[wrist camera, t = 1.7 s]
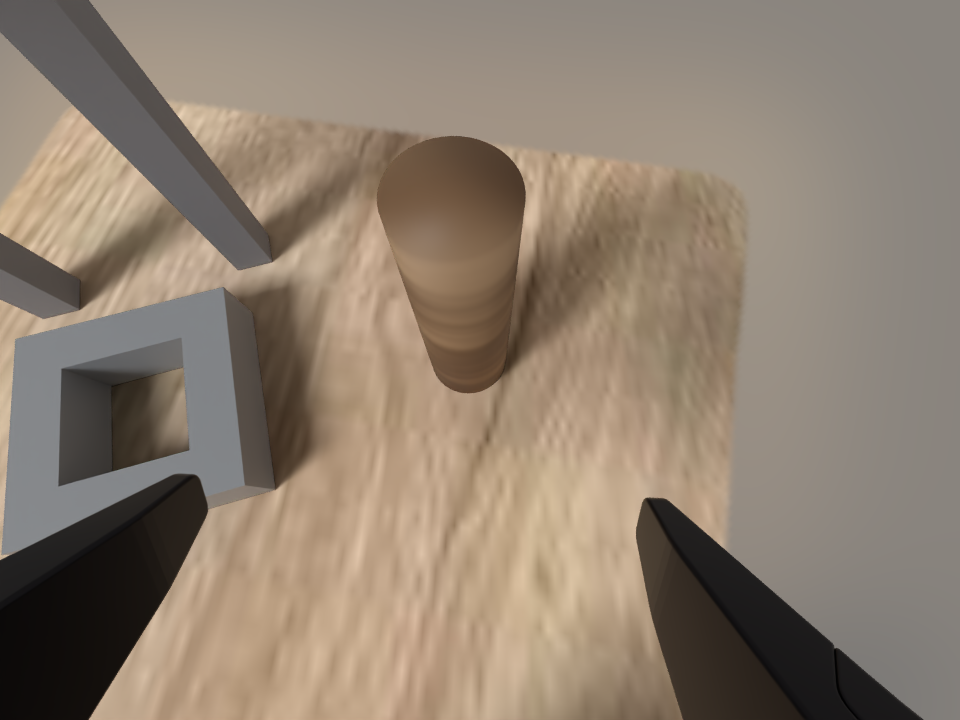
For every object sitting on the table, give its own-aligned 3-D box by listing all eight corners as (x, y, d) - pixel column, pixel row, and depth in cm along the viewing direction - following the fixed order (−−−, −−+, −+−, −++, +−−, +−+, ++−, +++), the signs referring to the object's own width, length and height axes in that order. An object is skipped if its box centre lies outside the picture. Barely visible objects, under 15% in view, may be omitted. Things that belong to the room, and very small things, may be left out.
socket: (275, 489, 22) (244, 485, 19) (65, 550, 21) (1, 555, 19) (252, 312, 25) (223, 287, 23) (69, 359, 25) (15, 339, 22)
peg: (515, 381, 24) (545, 236, 12) (442, 402, 24) (394, 275, 11) (493, 315, 25) (500, 122, 13) (424, 334, 25) (363, 154, 13)
